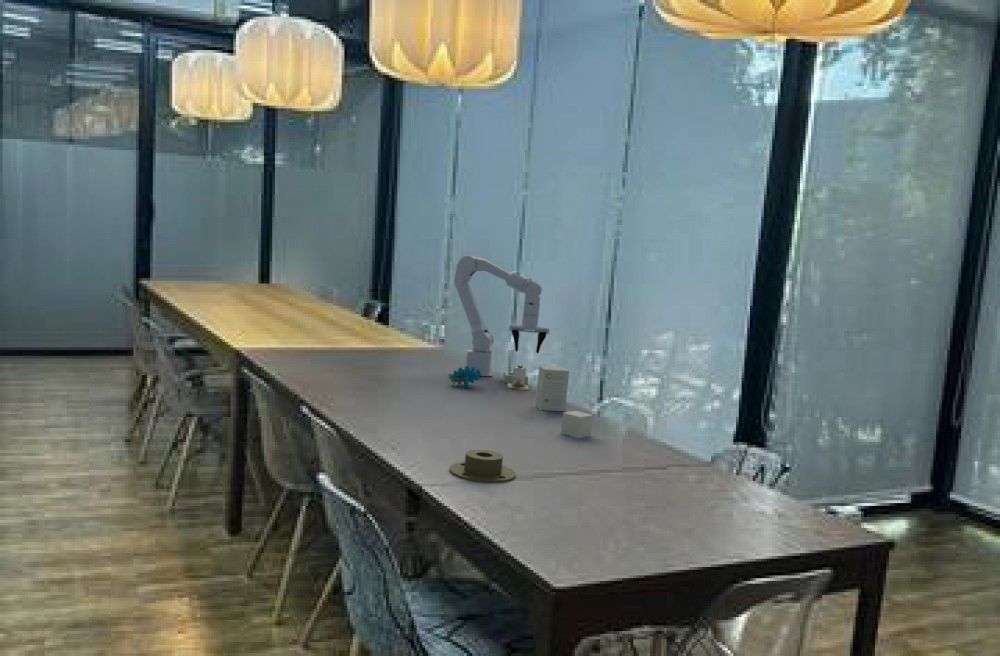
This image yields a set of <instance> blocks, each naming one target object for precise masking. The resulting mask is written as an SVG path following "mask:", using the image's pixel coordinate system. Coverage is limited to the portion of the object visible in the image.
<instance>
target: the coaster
mask: <svg viewBox="0 0 1000 656" xmlns="http://www.w3.org/2000/svg"><path fill="white" fill-rule="evenodd" d="M506 386H508V387H507V389H508V388H509V389H508V390H517V389H518V391H519V390H520V391H530V388H529V386H528V384H527V385H524V387H515V386H512V384H509V383H507V384H506Z"/></svg>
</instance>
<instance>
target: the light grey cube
mask: <svg viewBox="0 0 1000 656" xmlns="http://www.w3.org/2000/svg"><path fill="white" fill-rule="evenodd" d="M593 419H594V414H590V413H587V412H582V411H578V410H571V411H566V412H565V411H563V413H562V421H561V429H560V430H561V431H560V434H561V433H562V435H565V434H566V435H565V436H568V435H569V436H568V437H573V438H575V439H582V438H587V437H591V436H592V430H593V429H592V428H593Z"/></svg>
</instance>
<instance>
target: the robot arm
mask: <svg viewBox="0 0 1000 656" xmlns="http://www.w3.org/2000/svg"><path fill="white" fill-rule="evenodd" d="M476 272H487V273H489V274H491V275H493V276H495V277H497V278H499V279H501V280H503V281H505V283H506V286H508V287H510V288H512V289H514V290H515V291H517V292H520V293H521V294H523V293H524V296H525V297H524V301H523V310H522V320H521V324H516V325H515V324H509V327H508V330H509V331H510V332H511V334H512V338H513V341H514V351H515V352H518V351H519V340H520V339H519V338H520V332H523V333H524V332H526V333H534V334H537V343H536V348H535V352H536V354H539V353H540V350H541V346H542V345H543V342H544V340H545V339H546V337H547V335H550V328H548V327H542V326H541V327H539V326H538V324H539V315H540V305H541V303H540V301H541V296H540V295H542V292H543V287H542V285H541V284H540V283H539V282H538V281H537V280H533V278H531V277H529V278H528V277H526V276H524V275H522V273H521V272H520V271H515V270H514V271H510V272H509V271H508V270H505V269H504V268H502V267H500V266H499V265H497V264H494V263H493V262H490V261H489V260H487V259H484V258H481V257H478V256H477V255H474V254H469V255H463V256H462V257H461V258H459V261H458V262H457V264H456V269H455V274H454V275H455V276H454V280H453V282H454V286H455V288H456V291H457V294H458V296H459V299H460V301H461V302H460V303H461V305H462V308H463V309H464V313H465V315H466V318H467V320H468V324H469V326H470V332H471V336H472V342H471V343H472V346H473V347H472V349H466V351H465V352H466V354H465V363H464V370H465V367H466V366H469V370H472V369H471V367H475V371H476V370H477V369H479V370H480V373H481V377H490V376H491V377H492V373H491V364H492V354H493V349H492V348H491V346H492V345H493V343H494V336H493V334H492V333H491V332H490V331H489V329H488V328H487V325H486V324H485V322H484V320H483V318H482V314H481V312H480V310H479V307H478V304H477V301H476V299H475V296H474V293H473V291H472V288H471V285H470V281H471V279H472V277H473V275H474V274H475V273H476ZM532 280H533V281H532ZM475 371H474V372H475ZM477 374H478V373H477Z"/></svg>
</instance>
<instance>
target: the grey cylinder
mask: <svg viewBox="0 0 1000 656" xmlns="http://www.w3.org/2000/svg"><path fill="white" fill-rule="evenodd" d="M516 365H517V366H516ZM516 365H515V366H513V368H512V369H513V370H512V372H513V377H512V386H515V387H524V384H525V375H527V367H525V366H523V365H520V364H516Z"/></svg>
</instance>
